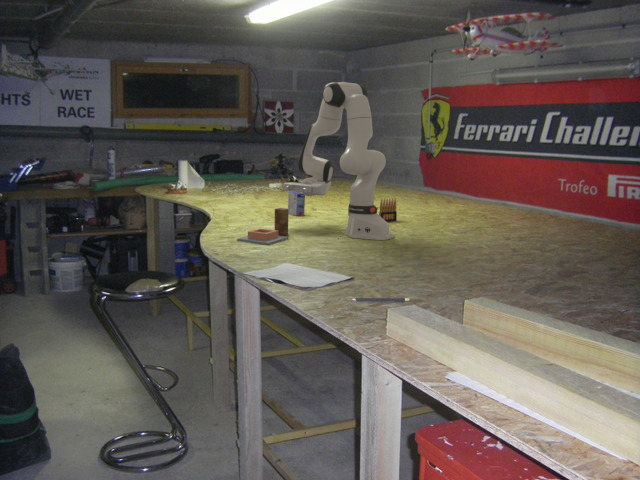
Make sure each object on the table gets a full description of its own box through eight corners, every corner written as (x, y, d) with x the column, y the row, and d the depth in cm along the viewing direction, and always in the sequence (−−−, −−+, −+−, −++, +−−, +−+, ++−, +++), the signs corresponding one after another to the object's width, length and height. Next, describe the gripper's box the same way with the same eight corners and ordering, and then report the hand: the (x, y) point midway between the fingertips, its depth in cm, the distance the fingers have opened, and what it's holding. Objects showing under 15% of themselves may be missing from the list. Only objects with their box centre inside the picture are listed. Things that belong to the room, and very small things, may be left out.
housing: (288, 239, 276) (288, 230, 275) (268, 245, 262) (268, 235, 261) (258, 235, 283) (258, 226, 283) (237, 240, 269) (237, 231, 269)
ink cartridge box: (305, 215, 343) (305, 189, 340) (296, 216, 340) (296, 189, 337) (296, 213, 351) (296, 187, 349) (287, 213, 348) (287, 187, 346)
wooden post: (288, 234, 287) (288, 208, 284) (282, 236, 283) (283, 209, 280) (279, 233, 289) (280, 207, 286) (274, 235, 285) (274, 208, 283)
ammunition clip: (394, 220, 335) (395, 198, 333) (396, 220, 333) (397, 198, 331) (378, 221, 330) (379, 198, 327) (380, 222, 328) (381, 199, 326)
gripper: (291, 178, 309) (276, 180, 297) (328, 181, 299) (314, 184, 287) (291, 191, 310) (276, 194, 298) (327, 195, 300) (314, 198, 288)
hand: (295, 189), depth 292 cm, fingers open, 8 cm apart
